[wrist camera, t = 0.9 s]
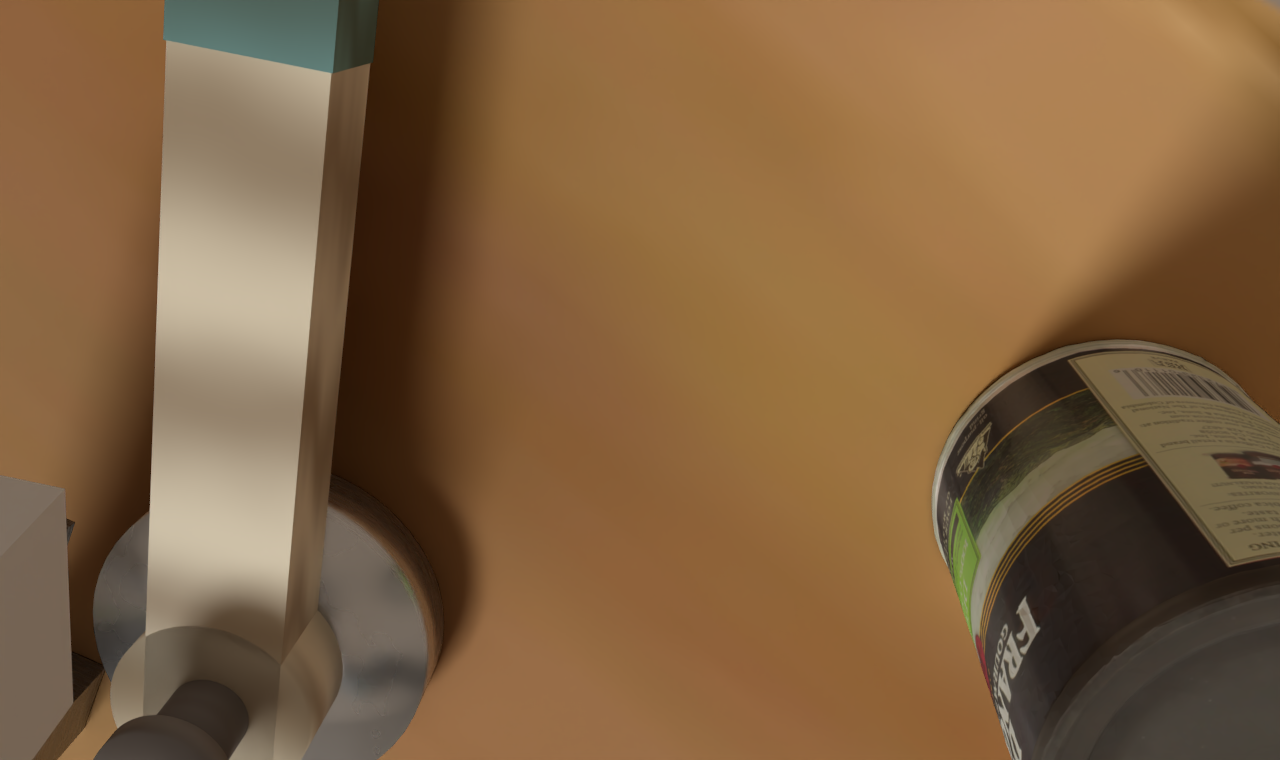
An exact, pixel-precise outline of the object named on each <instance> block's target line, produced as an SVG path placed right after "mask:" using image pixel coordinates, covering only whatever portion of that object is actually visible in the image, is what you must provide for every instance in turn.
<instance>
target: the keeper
mask: <svg viewBox="0 0 1280 760" xmlns="http://www.w3.org/2000/svg"><path fill="white" fill-rule="evenodd" d="M74 524H75V522H73V521H71V520H69V519H66V527H67V545H68V542H69V539H70V536H71V533H72V530H73V527H74ZM71 657H72V683H73V704H72V705H71V707H70V708H69V710H68V711H67V712H66V714H65V715H64V717H63V718H62V719H61V721H60V722H59V723H58V725H57V726H56V728H55V729H54V730H53V732H52V733H51V735H50V736H49V737H48V739H47V740H46V742H45V743H44V744H43V746H42V747H41V748H40V750H39V751H38V753H37V754H36V755H35V757H34V758H33V760H57V759H58V758H59V757H60V756H61V755H62V753H63V752H64V751H65V750H66V749H67V748H68V747H69V745H70V744H71V743H72V742H73V741H74V740H75V738H76V737H77V736H78V735H79V734H80V733H81V732H82V730H83V729H84V727H85V724H86V722H87V719H88V716H89V713H90V710H91V708H92V705H93V702H94V699H95V696H96V694H97V691H98V688H99V685H100V682H101V680H102V677H103V674H104V671H105V669H104V666H103V665H101V664H98V663H96V662H94V661H92V660H89V659H87V658H85V657H83V656H80V655H78V654H76V653H74V652H71Z"/></svg>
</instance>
